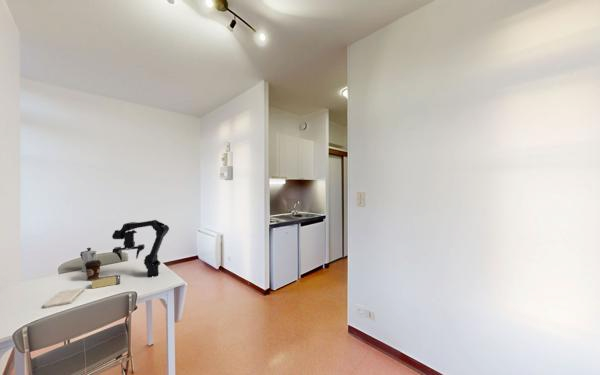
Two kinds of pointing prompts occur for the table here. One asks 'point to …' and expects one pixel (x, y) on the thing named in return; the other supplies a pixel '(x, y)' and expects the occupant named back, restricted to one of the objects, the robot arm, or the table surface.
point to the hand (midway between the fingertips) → (129, 259)
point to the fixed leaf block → (105, 277)
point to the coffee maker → (87, 257)
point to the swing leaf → (106, 281)
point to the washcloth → (64, 297)
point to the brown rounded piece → (92, 269)
